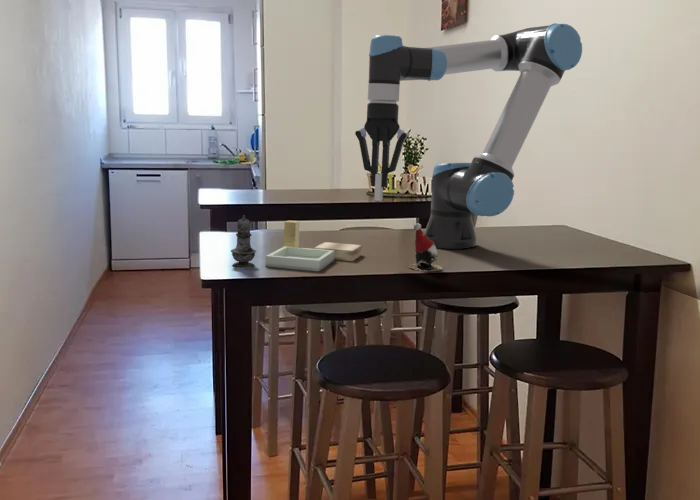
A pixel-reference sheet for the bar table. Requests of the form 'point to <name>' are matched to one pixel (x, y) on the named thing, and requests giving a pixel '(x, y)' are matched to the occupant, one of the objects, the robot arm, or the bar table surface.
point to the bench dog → (291, 233)
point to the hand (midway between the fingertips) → (378, 200)
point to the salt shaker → (243, 245)
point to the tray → (300, 258)
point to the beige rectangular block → (342, 250)
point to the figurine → (424, 252)
